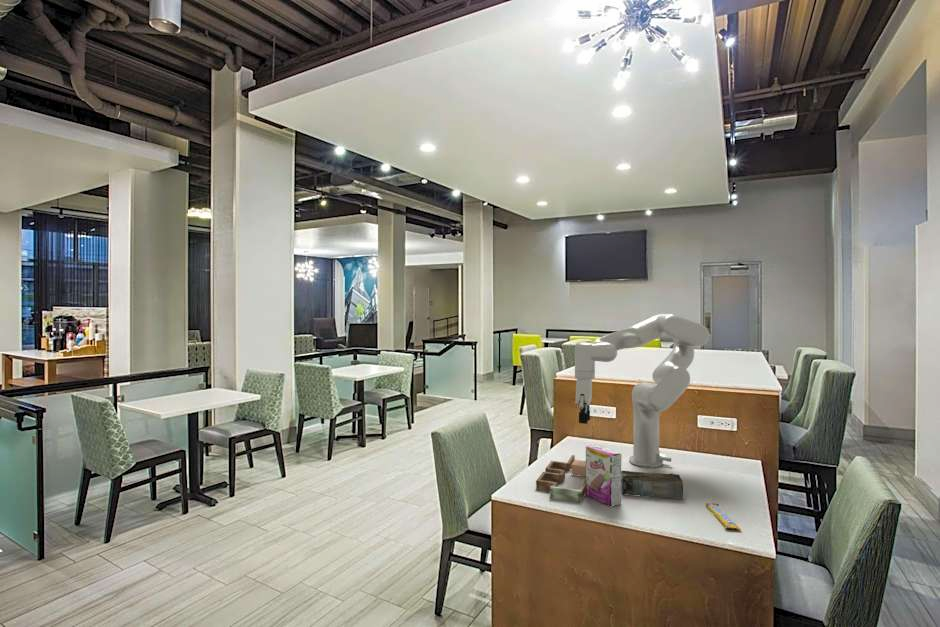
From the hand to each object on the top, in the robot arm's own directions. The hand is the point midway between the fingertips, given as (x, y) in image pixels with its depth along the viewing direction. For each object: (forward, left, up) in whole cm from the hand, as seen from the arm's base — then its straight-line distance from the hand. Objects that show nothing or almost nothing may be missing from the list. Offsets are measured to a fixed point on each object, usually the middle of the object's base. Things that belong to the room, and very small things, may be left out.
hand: (584, 421), depth 191 cm
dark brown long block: (-25, +19, -18) cm, 36 cm away
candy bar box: (-11, +31, -18) cm, 37 cm away
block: (0, +9, -18) cm, 20 cm away
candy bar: (-45, +31, -18) cm, 58 cm away
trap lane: (+3, +17, -17) cm, 25 cm away
